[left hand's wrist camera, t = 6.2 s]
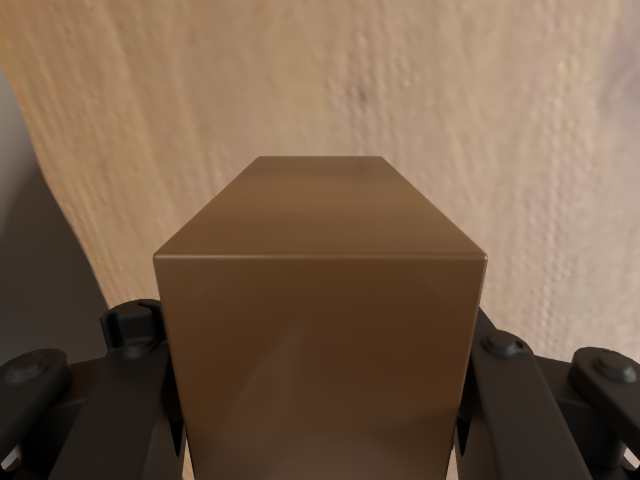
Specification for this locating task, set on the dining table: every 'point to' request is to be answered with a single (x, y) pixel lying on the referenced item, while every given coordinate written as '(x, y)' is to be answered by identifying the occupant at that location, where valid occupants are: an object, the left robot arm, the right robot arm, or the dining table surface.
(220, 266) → the bar
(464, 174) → the dining table surface
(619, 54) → the dining table surface
